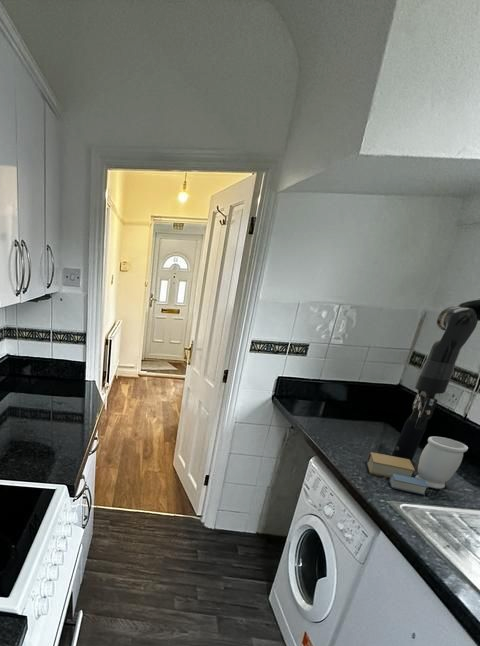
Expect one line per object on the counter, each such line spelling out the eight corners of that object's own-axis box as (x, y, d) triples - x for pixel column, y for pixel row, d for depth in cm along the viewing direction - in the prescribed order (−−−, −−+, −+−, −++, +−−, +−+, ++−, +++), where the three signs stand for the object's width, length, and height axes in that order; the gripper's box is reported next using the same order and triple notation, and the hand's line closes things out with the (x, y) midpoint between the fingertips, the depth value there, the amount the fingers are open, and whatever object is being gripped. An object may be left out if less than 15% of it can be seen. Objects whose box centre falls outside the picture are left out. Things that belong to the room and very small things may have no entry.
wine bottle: (413, 461, 156) (447, 385, 143) (406, 465, 152) (440, 387, 140) (395, 455, 160) (426, 380, 148) (387, 458, 157) (418, 382, 144)
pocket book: (421, 487, 136) (424, 479, 135) (424, 495, 132) (428, 486, 130) (389, 480, 140) (392, 473, 139) (391, 487, 135) (394, 479, 134)
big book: (405, 470, 148) (409, 459, 146) (410, 481, 140) (415, 470, 138) (366, 462, 153) (370, 451, 151) (369, 473, 145) (373, 461, 143)
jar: (453, 493, 134) (474, 452, 127) (416, 486, 137) (435, 445, 130) (441, 479, 143) (460, 439, 137) (406, 472, 146) (423, 433, 140)
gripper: (456, 382, 119) (435, 434, 125) (444, 373, 130) (425, 421, 137) (425, 378, 122) (405, 429, 128) (415, 369, 133) (398, 417, 140)
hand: (415, 425), depth 132 cm, fingers open, 8 cm apart
